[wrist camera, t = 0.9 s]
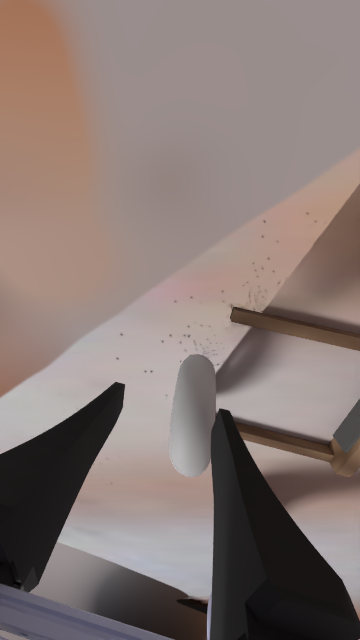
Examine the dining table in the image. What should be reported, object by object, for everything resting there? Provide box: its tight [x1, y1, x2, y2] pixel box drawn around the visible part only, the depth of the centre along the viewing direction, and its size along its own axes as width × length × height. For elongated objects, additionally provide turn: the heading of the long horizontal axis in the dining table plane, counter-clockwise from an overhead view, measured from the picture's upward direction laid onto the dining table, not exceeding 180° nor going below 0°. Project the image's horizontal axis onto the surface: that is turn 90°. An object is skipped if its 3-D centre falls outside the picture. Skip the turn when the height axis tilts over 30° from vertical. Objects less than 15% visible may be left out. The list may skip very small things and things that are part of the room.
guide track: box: [215, 307, 360, 478], centre depth 20 cm, size 16×18×2 cm
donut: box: [169, 354, 216, 477], centre depth 17 cm, size 10×4×10 cm, turn 178°
